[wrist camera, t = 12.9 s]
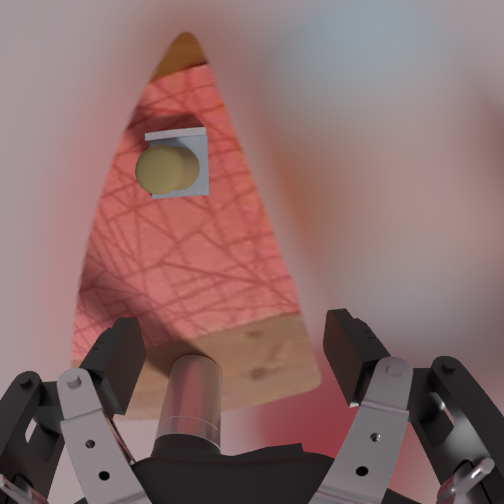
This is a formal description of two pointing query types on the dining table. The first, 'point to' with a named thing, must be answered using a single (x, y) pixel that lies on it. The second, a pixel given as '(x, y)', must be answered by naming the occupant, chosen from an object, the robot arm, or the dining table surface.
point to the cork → (166, 169)
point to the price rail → (176, 134)
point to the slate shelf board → (201, 151)
